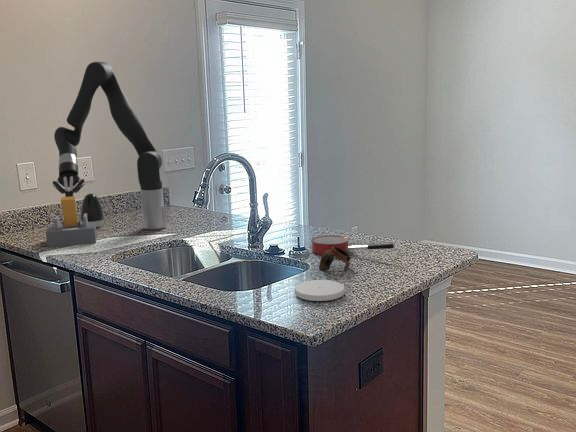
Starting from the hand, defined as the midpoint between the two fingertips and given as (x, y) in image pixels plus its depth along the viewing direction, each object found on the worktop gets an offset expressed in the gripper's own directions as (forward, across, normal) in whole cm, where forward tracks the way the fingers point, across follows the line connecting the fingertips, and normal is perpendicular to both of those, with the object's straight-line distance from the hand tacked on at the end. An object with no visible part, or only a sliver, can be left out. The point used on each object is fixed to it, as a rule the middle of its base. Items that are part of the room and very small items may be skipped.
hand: (69, 200), depth 244 cm
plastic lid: (+83, +72, -58) cm, 124 cm away
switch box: (+13, 0, +10) cm, 17 cm away
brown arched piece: (+67, +84, -43) cm, 115 cm away
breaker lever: (+8, 0, +7) cm, 10 cm away
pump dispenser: (-4, +7, +28) cm, 29 cm away
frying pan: (+57, +97, -32) cm, 117 cm away
